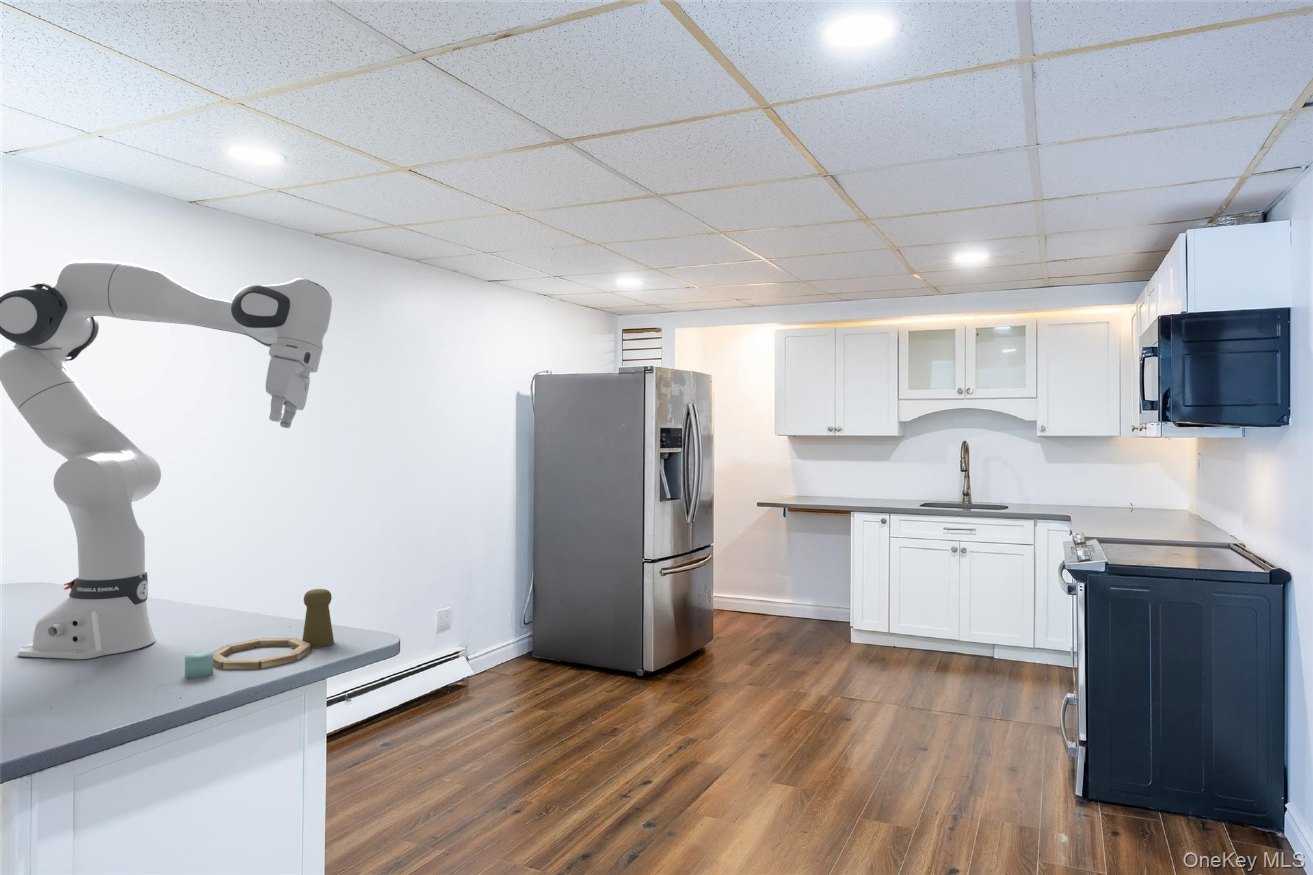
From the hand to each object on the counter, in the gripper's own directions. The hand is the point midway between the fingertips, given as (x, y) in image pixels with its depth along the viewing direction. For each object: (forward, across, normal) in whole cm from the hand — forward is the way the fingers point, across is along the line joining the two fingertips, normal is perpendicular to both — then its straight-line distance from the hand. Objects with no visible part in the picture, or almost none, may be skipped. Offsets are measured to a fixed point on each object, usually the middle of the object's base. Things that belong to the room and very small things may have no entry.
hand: (279, 424), depth 164 cm
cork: (+42, -5, +16) cm, 45 cm away
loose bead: (+48, +11, 0) cm, 49 cm away
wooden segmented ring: (+44, +1, +7) cm, 45 cm away
